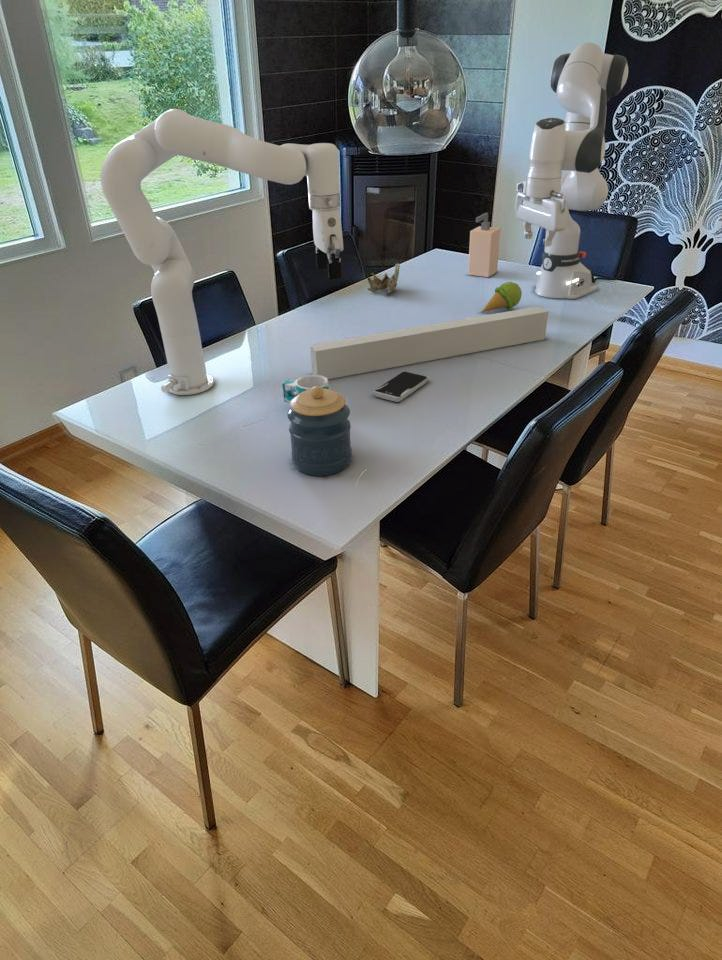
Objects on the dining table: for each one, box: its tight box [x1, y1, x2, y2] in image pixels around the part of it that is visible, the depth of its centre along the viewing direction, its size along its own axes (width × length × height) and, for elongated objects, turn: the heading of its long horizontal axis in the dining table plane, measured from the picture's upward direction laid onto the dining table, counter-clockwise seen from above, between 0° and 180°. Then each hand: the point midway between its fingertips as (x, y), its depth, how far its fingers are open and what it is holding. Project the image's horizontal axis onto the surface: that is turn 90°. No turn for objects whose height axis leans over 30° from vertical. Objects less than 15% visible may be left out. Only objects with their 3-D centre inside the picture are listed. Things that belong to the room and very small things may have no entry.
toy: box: [481, 281, 523, 313], centre depth 221 cm, size 9×9×15 cm
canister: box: [287, 386, 353, 476], centre depth 141 cm, size 13×13×18 cm
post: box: [309, 306, 549, 380], centre depth 190 cm, size 71×5×9 cm, turn 110°
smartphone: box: [373, 371, 428, 403], centre depth 174 cm, size 8×1×15 cm
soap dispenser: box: [467, 212, 501, 278], centre depth 252 cm, size 13×9×22 cm
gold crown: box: [367, 263, 401, 296], centre depth 243 cm, size 9×15×10 cm
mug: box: [281, 374, 330, 404], centre depth 164 cm, size 8×12×8 cm
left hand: (328, 273), depth 169 cm, fingers open, 9 cm apart
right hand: (537, 242), depth 185 cm, fingers open, 8 cm apart
